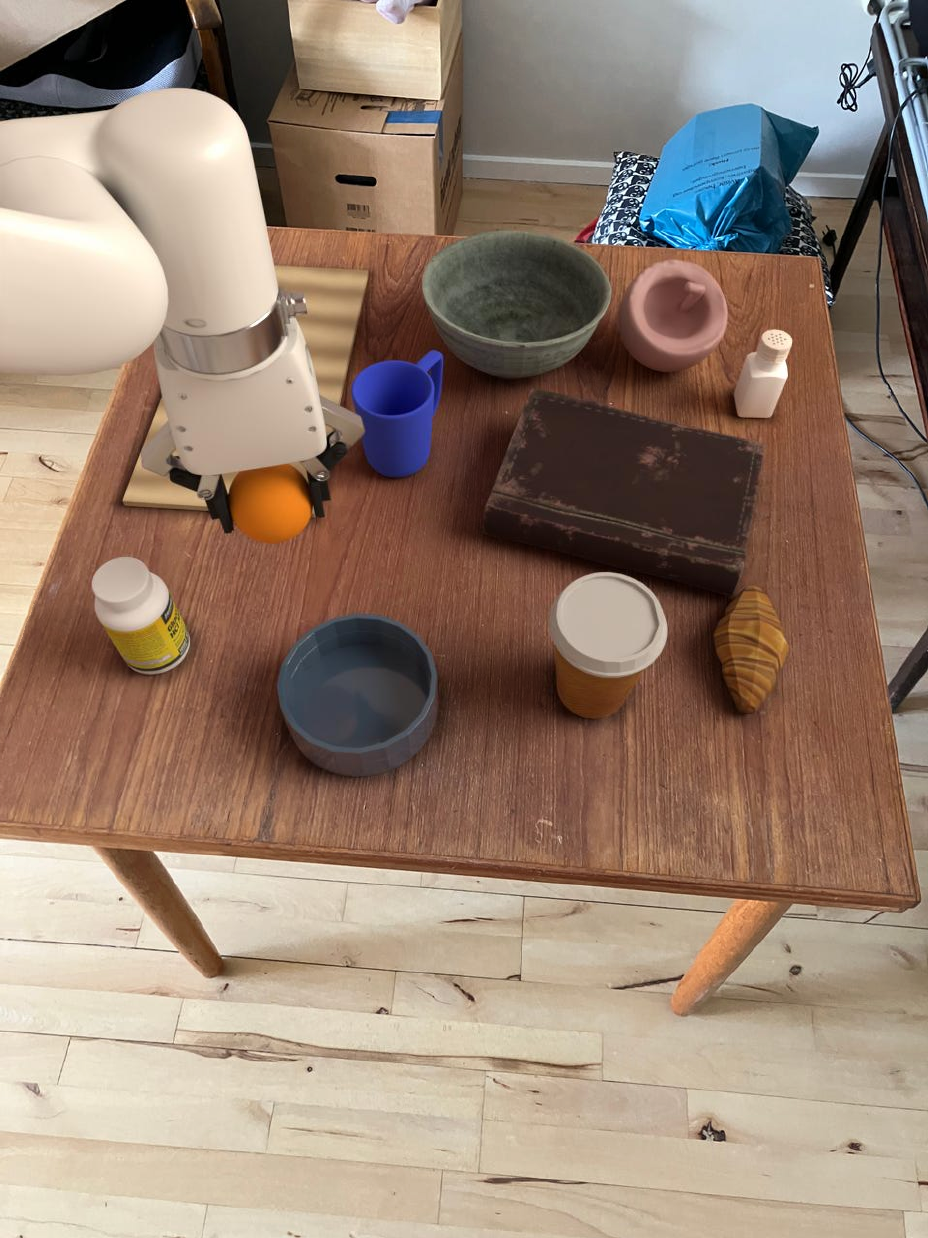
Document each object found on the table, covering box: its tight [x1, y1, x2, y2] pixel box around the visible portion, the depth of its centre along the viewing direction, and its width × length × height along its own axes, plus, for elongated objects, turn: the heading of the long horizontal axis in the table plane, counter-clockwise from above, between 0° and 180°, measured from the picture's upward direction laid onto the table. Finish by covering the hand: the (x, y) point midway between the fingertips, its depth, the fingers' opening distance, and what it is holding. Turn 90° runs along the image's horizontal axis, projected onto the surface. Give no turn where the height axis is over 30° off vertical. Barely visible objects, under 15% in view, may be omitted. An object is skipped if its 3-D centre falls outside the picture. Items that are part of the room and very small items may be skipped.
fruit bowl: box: [276, 613, 439, 778], centre depth 77 cm, size 13×13×5 cm
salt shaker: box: [733, 328, 793, 419], centre depth 95 cm, size 4×4×10 cm
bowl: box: [421, 230, 612, 380], centre depth 100 cm, size 21×21×10 cm
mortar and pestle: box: [617, 258, 729, 373], centre depth 99 cm, size 12×12×12 cm
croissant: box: [713, 585, 790, 715], centre depth 80 cm, size 14×7×5 cm, turn 168°
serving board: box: [122, 264, 369, 519], centre depth 101 cm, size 40×20×1 cm, turn 175°
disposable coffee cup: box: [548, 571, 668, 720], centre depth 75 cm, size 10×10×12 cm
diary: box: [481, 387, 766, 597], centre depth 90 cm, size 19×25×5 cm
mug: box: [350, 349, 444, 479], centre depth 92 cm, size 8×12×10 cm
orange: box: [228, 464, 313, 545], centre depth 67 cm, size 6×6×6 cm
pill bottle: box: [91, 556, 191, 675], centre depth 77 cm, size 6×6×11 cm
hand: (273, 510), depth 68 cm, fingers closed on orange, 6 cm apart
